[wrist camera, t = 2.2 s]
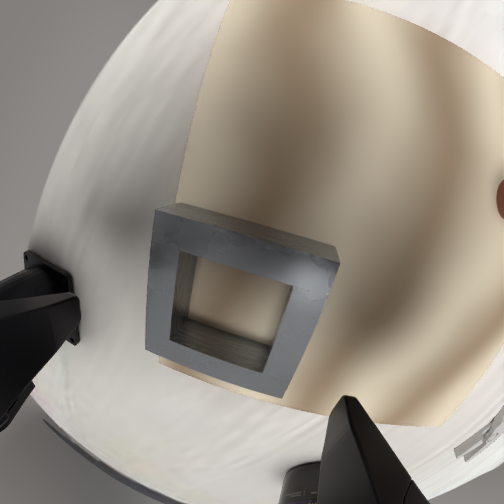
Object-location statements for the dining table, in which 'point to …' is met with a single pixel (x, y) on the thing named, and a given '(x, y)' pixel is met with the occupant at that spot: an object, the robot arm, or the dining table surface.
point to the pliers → (481, 438)
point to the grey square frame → (247, 259)
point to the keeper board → (356, 200)
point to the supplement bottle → (301, 485)
